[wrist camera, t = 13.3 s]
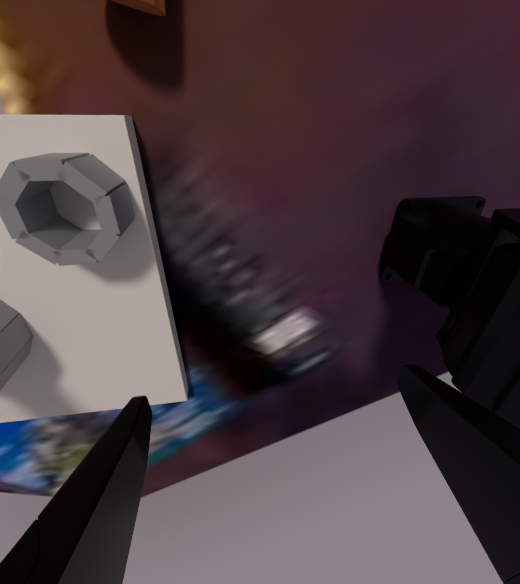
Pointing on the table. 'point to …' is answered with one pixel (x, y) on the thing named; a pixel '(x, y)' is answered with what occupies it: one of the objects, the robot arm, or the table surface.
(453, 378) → the robot arm
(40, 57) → the table surface
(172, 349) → the socket plate
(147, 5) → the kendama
